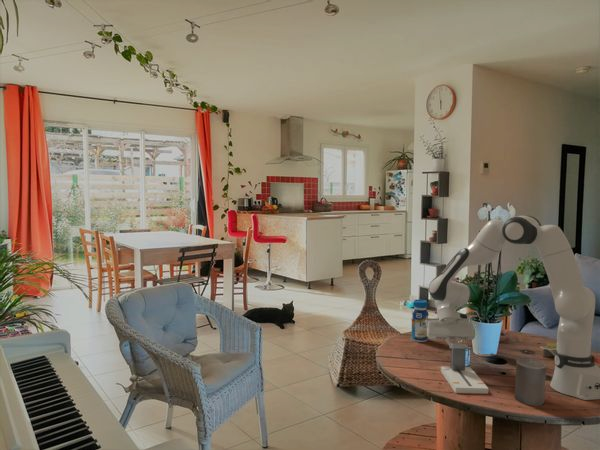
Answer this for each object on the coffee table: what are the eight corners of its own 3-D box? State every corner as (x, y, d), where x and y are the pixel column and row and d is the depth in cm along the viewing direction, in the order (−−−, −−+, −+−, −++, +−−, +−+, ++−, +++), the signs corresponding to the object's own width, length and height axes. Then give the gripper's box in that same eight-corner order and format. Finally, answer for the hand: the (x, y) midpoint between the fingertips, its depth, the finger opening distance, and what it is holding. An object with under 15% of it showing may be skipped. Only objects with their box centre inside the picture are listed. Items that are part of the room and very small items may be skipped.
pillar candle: (509, 394, 171) (510, 354, 170) (534, 393, 172) (536, 354, 171) (523, 406, 162) (525, 365, 160) (550, 405, 162) (552, 364, 161)
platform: (579, 360, 207) (579, 346, 207) (545, 364, 203) (545, 349, 202) (558, 351, 219) (558, 338, 218) (525, 354, 214) (526, 341, 214)
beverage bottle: (417, 336, 240) (418, 298, 239) (431, 340, 234) (432, 301, 233) (407, 339, 235) (408, 300, 234) (421, 343, 229) (422, 303, 227)
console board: (470, 371, 193) (470, 366, 193) (488, 393, 172) (488, 388, 172) (440, 371, 193) (440, 366, 193) (455, 392, 172) (455, 387, 172)
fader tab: (464, 368, 190) (465, 342, 189) (465, 370, 188) (466, 344, 187) (450, 368, 190) (451, 342, 190) (451, 369, 188) (452, 343, 188)
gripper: (425, 314, 203) (430, 343, 194) (473, 315, 202) (479, 345, 193) (423, 321, 208) (427, 350, 198) (469, 322, 207) (476, 351, 198)
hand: (453, 347), depth 196 cm, fingers closed
